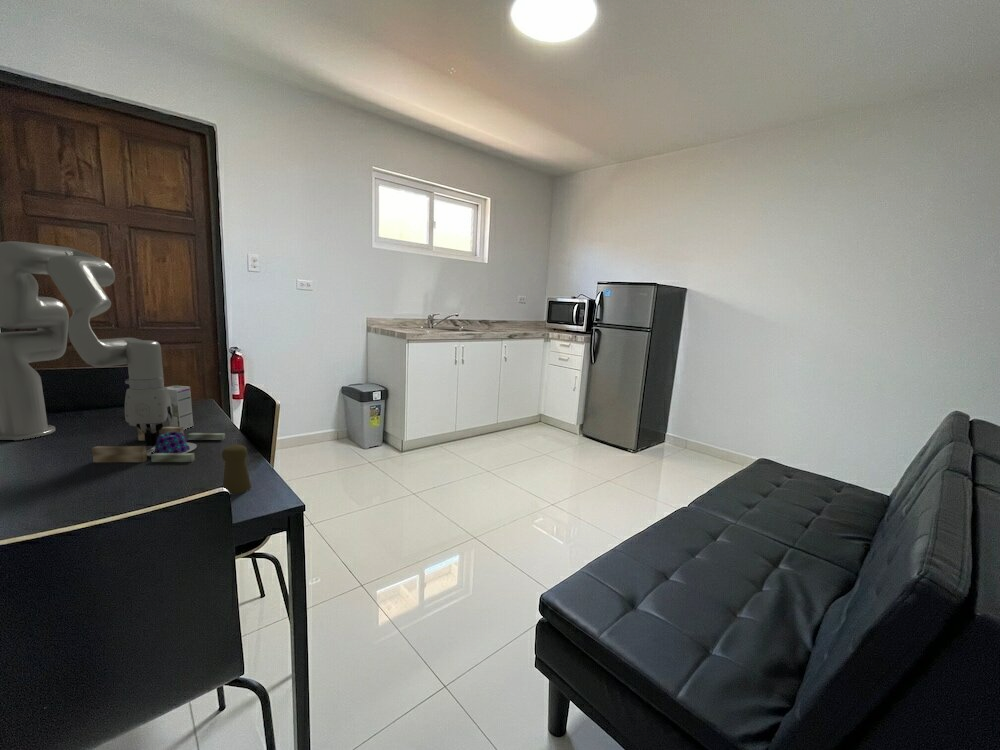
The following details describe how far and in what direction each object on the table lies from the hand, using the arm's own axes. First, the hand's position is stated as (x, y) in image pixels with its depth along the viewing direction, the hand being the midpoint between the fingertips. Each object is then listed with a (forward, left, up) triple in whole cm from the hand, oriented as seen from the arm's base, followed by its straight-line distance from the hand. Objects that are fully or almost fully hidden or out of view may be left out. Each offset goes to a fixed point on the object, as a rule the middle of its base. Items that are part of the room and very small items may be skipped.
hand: (152, 444), depth 122 cm
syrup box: (-4, +20, -2) cm, 20 cm away
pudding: (+5, -1, -2) cm, 6 cm away
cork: (+34, -27, -2) cm, 44 cm away
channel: (+3, 0, -2) cm, 3 cm away
